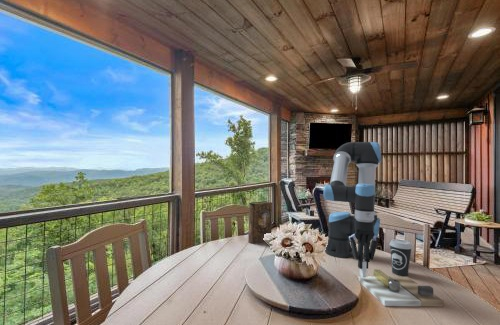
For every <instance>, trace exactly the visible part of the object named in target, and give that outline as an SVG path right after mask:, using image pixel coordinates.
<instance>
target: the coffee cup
mask: <svg viewBox="0 0 500 325" xmlns="http://www.w3.org/2000/svg"><path fill="white" fill-rule="evenodd" d="M388 245H389V246H390V256H391V257H390V259H391V272H392V274H394V275H396V276H398V277H408V276H409V270H410V269H409V268H410V261H411V252H412V249H413V244H412V243H411V242H410V241H409V240H405V239H399V238H393V239H391V240H390V241H389V243H388Z"/></svg>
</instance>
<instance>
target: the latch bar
mask: <svg viewBox="0 0 500 325" xmlns="http://www.w3.org/2000/svg"><path fill="white" fill-rule="evenodd" d="M373 276H375V277H376V278H377V279H378V280H380V281H381V282H382V283H383V284H384V285H386V286H387V287H388V289H389V290H391V291H394V292H399V291H400V282H399V281H398V280H395V279H392V278H390V277H391V276H390V277H389V275H388V274H386V273H385V272H384V271H383V270H382V269H373Z"/></svg>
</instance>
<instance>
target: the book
mask: <svg viewBox="0 0 500 325" xmlns="http://www.w3.org/2000/svg"><path fill="white" fill-rule="evenodd" d="M248 203H249V204H248V206H249V207H248V208H249V211H248V214H249V215H248V236H247V238H248V239H247V241H248V243H249V244H252V245H256V244H260V243H264V242H265V241H264V240H263V238H264V234H266V233H271V232H272V228H273V227H272V225H273V202H272V201H269V202H268V201H266V200H265V201H254V202H248ZM271 234H272V233H271Z"/></svg>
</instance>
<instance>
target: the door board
mask: <svg viewBox="0 0 500 325" xmlns="http://www.w3.org/2000/svg"><path fill="white" fill-rule="evenodd" d="M388 276H389V275H388ZM389 277H390V278H392V279H395V280H398V281H399V282H400V291H399V292H394V291H391V290H389V289H388V287H387V286H386V285H384V284H383V283H382V282H381V281H380V280H378V279H377V278H376V277H375V276H374V275H372V276H371V275H370V276H369V275H368V276H367V275H366V277H362V276H361V275H360V276H359V275H358V282H359V283H360V284H361V285H362V286H363V287H364V288H366V290H367V291H368V292H370V294H372V296H374V297H375V298H376V299H377V300H378V301H379V302H380V303H381V304H382V305H383V306H384V307H445V306H444V304H445V301H444V300H443V299H442V298H440V297H439V296H437V295H436V294H434V287H432V286H431V285H421V284H419V283H418V282H416V281H415V280H413V279H412V278H410V276H409V277H408V276H389Z"/></svg>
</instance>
